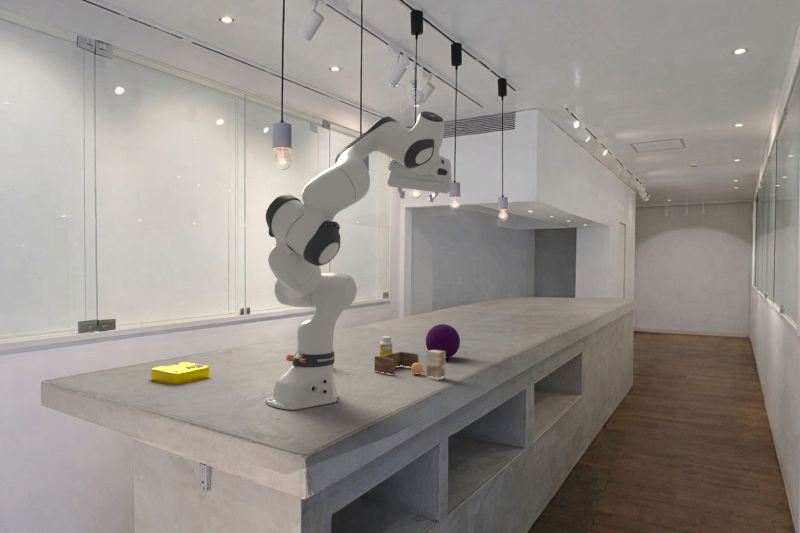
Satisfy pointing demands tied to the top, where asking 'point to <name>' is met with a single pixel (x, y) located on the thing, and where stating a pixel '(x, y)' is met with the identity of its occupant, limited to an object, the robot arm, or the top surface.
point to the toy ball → (443, 339)
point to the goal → (394, 361)
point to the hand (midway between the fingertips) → (416, 199)
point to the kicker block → (436, 363)
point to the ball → (416, 368)
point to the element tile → (180, 373)
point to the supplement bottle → (385, 345)
